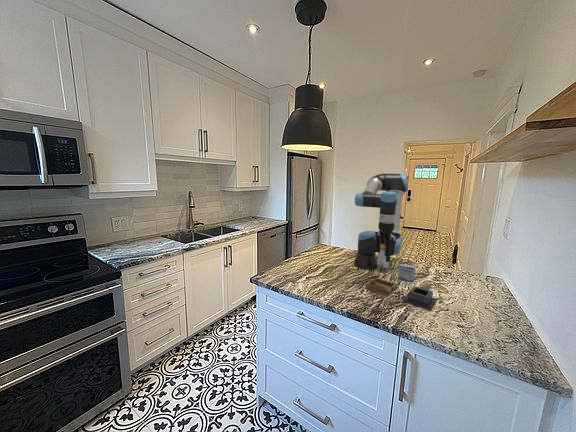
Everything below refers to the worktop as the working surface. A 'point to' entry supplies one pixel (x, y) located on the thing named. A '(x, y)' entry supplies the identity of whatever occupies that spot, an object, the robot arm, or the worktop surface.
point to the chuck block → (420, 298)
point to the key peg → (382, 258)
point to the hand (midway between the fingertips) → (382, 265)
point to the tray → (381, 286)
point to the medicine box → (406, 272)
